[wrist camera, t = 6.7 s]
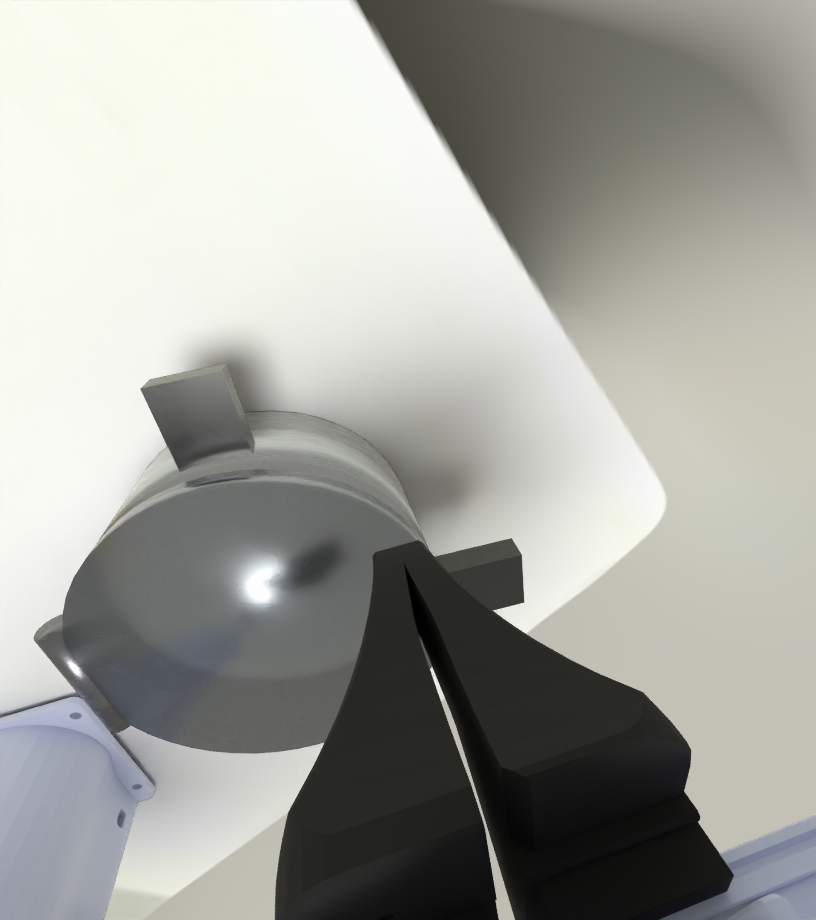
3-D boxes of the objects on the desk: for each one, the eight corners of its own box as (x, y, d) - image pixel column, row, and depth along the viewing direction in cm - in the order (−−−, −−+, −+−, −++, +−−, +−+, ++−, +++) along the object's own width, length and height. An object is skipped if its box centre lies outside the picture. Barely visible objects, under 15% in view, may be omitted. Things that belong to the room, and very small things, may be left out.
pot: (432, 630, 27) (457, 703, 22) (212, 697, 25) (195, 788, 21) (370, 314, 18) (392, 337, 14) (27, 386, 16) (-65, 437, 12)
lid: (519, 666, 21) (529, 690, 20) (157, 761, 19) (148, 791, 18) (502, 409, 15) (515, 423, 13) (-26, 525, 13) (-56, 550, 12)
